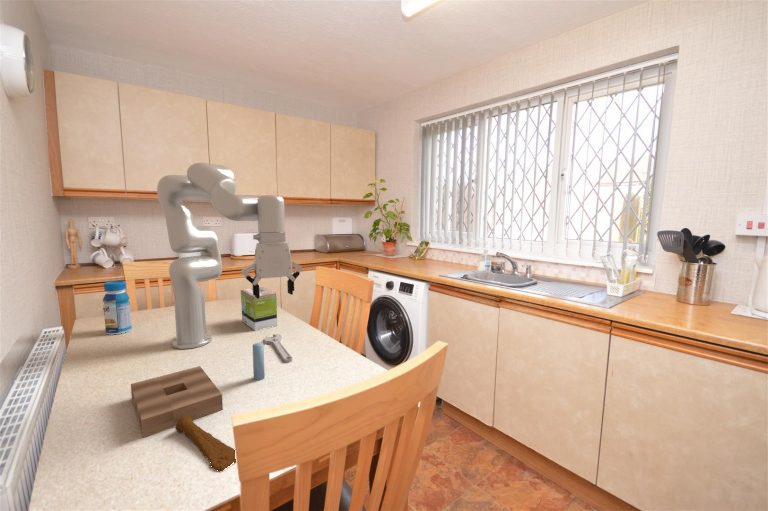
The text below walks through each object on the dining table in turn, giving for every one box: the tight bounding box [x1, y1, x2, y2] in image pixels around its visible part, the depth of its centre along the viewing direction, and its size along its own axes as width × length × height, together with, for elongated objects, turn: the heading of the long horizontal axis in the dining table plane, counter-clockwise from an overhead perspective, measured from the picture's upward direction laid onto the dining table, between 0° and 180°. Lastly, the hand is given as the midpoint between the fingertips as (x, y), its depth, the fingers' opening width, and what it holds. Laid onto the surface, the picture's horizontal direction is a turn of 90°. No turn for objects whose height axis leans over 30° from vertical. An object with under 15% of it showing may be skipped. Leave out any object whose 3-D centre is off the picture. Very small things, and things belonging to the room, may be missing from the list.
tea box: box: [240, 286, 278, 331], centre depth 145 cm, size 15×10×15 cm
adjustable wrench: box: [264, 333, 293, 364], centre depth 119 cm, size 25×6×2 cm, turn 26°
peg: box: [252, 342, 265, 381], centre depth 98 cm, size 3×3×10 cm
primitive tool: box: [174, 416, 237, 472], centre depth 70 cm, size 19×6×4 cm, turn 59°
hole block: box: [130, 365, 224, 438], centre depth 85 cm, size 20×16×4 cm
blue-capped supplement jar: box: [102, 280, 132, 336], centre depth 133 cm, size 8×8×20 cm
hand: (274, 295), depth 101 cm, fingers open, 9 cm apart
